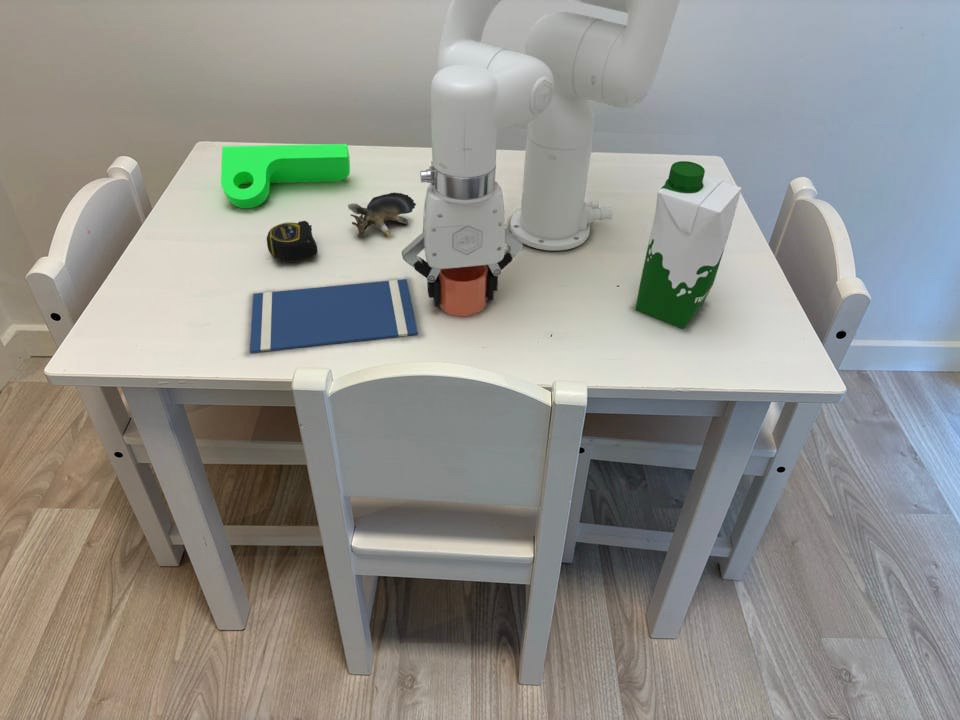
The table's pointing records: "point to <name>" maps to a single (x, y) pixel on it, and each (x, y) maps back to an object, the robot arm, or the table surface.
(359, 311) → the towel
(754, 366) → the table surface
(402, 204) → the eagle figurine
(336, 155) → the bracket
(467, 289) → the orange plastic cup
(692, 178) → the milk carton
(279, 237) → the tape measure
